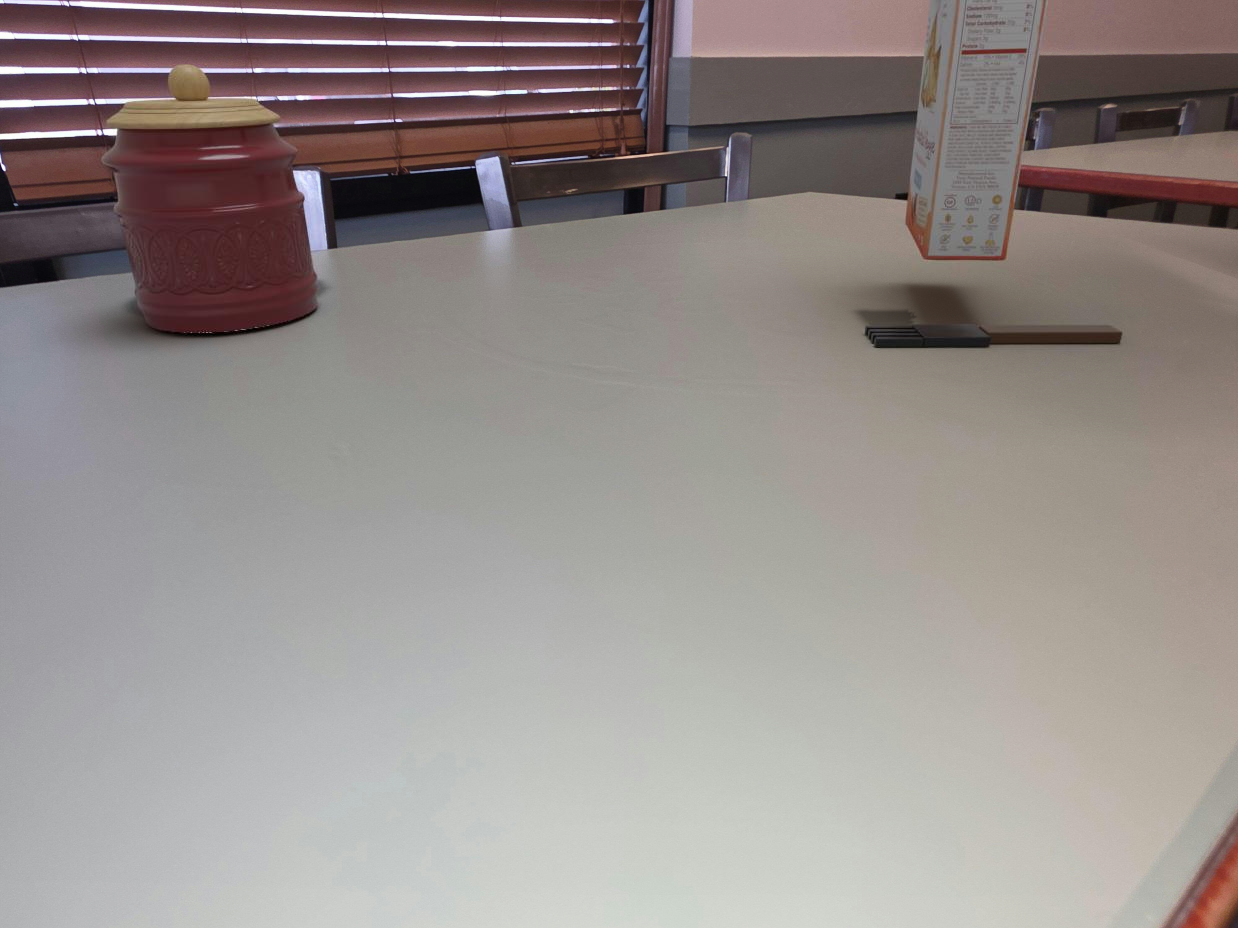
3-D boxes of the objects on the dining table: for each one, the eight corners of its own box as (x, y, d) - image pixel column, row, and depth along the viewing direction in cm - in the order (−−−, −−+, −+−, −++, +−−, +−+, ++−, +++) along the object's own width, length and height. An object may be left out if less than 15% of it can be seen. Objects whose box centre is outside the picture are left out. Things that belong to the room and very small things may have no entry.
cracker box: (899, 226, 73) (933, -61, 64) (974, 228, 72) (1020, -64, 63) (916, 261, 61) (961, -89, 52) (1007, 264, 60) (1070, -93, 51)
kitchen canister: (263, 342, 61) (210, 64, 53) (101, 333, 63) (30, 66, 56) (351, 296, 72) (318, 63, 65) (212, 290, 75) (164, 64, 67)
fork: (1102, 333, 61) (1105, 321, 60) (1125, 346, 58) (1128, 335, 57) (864, 333, 61) (865, 322, 61) (875, 347, 58) (876, 335, 58)
